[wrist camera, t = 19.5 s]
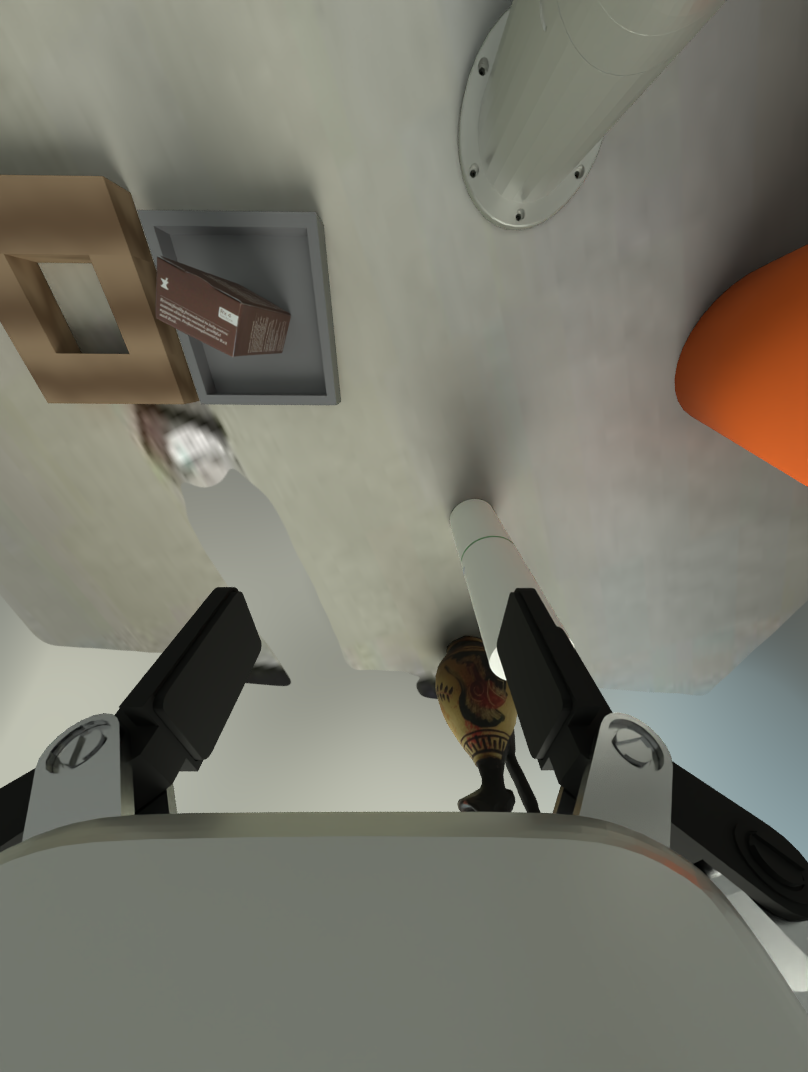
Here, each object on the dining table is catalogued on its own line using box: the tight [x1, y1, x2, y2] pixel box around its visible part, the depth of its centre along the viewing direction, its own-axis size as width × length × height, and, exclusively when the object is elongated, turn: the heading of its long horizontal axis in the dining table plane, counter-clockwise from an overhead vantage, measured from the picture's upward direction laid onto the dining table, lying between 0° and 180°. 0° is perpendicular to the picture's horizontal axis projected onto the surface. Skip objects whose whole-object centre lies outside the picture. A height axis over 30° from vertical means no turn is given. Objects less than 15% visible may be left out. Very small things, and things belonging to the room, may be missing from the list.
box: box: [156, 255, 291, 357], centre depth 27 cm, size 6×4×12 cm
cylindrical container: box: [450, 499, 575, 680], centre depth 36 cm, size 7×7×25 cm
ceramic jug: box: [436, 636, 540, 813], centre depth 51 cm, size 17×15×30 cm
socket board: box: [0, 175, 199, 404], centre depth 31 cm, size 18×16×3 cm
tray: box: [137, 210, 341, 405], centre depth 32 cm, size 16×16×3 cm
